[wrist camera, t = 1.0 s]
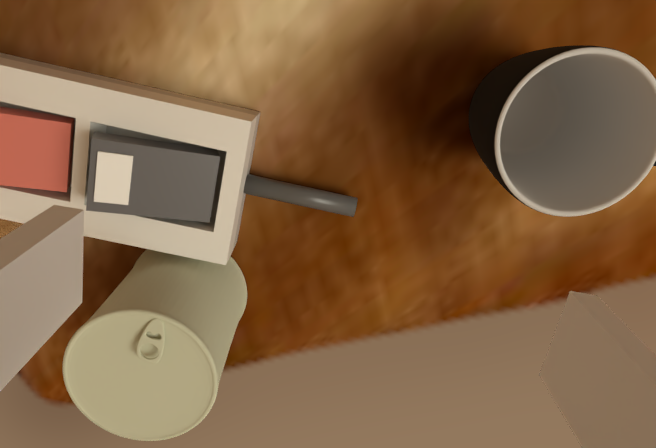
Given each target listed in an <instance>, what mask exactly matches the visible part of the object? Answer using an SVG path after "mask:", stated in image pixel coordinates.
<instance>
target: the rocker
mask: <svg viewBox="0 0 656 448" xmlns="http://www.w3.org/2000/svg"><path fill="white" fill-rule="evenodd" d="M219 161H220V155H219V153H218V150H217V149H211V148H204V147H197V146H190V145H184V144H177V143H170V142H163V141H156V140H149V139H142V138H136V137H129V136H122V135H115V134H108V133H101V132H94V133H93V136H92V140H91V152H90V165H89V178H88V191H87V204H86V211H95V212H106V213H116V214H127V215H137V216H147V217H158V218H168V219H179V220H189V221H199V222H210V217H211V211H212V205H213V199H214V192H215V186H216V180H217V174H218V167H219Z"/></svg>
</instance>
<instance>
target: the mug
mask: <svg viewBox="0 0 656 448" xmlns="http://www.w3.org/2000/svg"><path fill="white" fill-rule="evenodd" d="M469 128H470V133H471V137H472V140H473V143H474V145H475V147H476V150H477V152H478V153H479V155H480V157H481V159H482V160H483V162H484V163H485V165H486V166H487V168H488V169H489V170H490V172H491V173H492V174H493V176H494V177H495V178H496V179H497V180H498V181H499V183H500V184H501V185H502V186H503V187H504V188H505V189H506V190H507V191H508V192H509V193H510V194H511V195H513V196H514V197H515V198H516V199H518V200H519V201H520V202H522V203H523V204H525V205H526V206H528V207H530V208H532V209H534V210H536V211H539V212H542V213H545V214H549V215H554V216H569V217H570V216H580V215H586V214H590V213H594V212H597V211H599V210H602V209H604V208H607V207H609V206H611V205H613V204H614V203H616V202H618V201H619V200H621V199H622V198H624V197H625V196H626V195H628V194H629V193H630V192H631V191H632V190H634V189H635V188H636V187H637V186H638V185H639V184H640V183H641V181H642V180H643V179H644V178H645V177H646V175H647V174H648V173H649V171H650V170H651V168H652V167H653V166H656V79H655V78H654V77H653V75H652V74H651V73H650V71H649V70H648V69H647V68H646V67H645V66H644V65H643V64H641V63H640V62H639V61H637V60H636V59H634V58H633V57H631V56H629V55H627V54H625V53H623V52H620V51H618V50H615V49H610V48H606V47H598V46H563V47H554V48H547V49H542V50H537V51H532V52H529V53H525V54H522V55H519V56H517V57H514V58H512V59H510V60H508V61H506V62H504V63H502V64H501V65H499V66H497V67H496V68H495V69H493V70H492V71H491V72H490V73H489V74H488V75H487V76H486V77H485V78H484V79H483V80H482V82H481V83H480V84H479V86H478V87H477V89H476V91H475V93H474V95H473V98H472V101H471V104H470V109H469Z"/></svg>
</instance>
